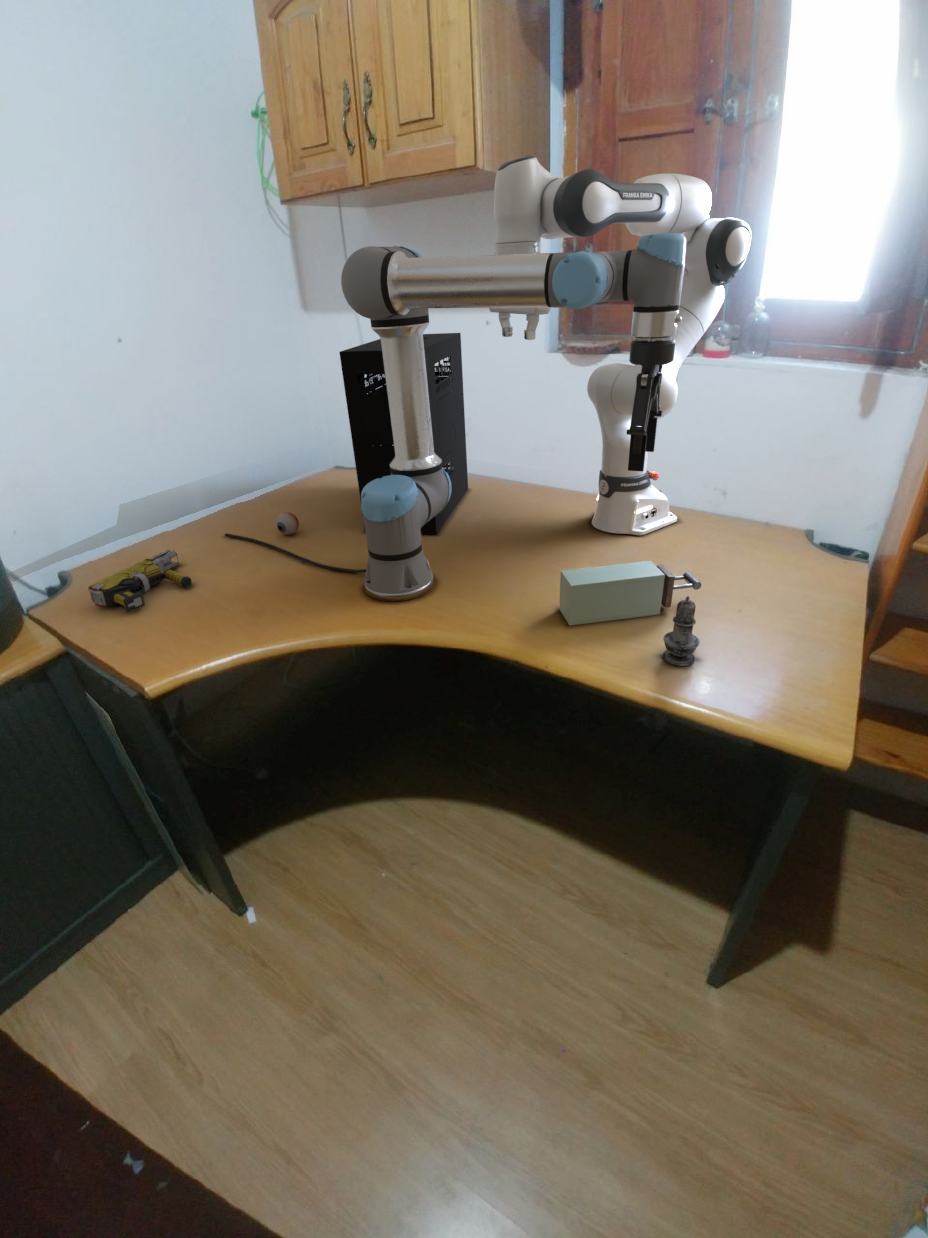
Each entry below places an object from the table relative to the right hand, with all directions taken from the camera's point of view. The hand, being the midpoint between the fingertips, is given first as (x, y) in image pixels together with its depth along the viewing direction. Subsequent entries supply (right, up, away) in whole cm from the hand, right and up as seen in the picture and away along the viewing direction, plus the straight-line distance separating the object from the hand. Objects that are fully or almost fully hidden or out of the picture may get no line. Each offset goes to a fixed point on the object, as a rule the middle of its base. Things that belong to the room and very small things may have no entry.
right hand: (518, 337), depth 125 cm
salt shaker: (+26, -65, -20) cm, 73 cm away
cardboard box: (-24, -26, +53) cm, 63 cm away
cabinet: (+18, -57, -5) cm, 60 cm away
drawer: (+23, -55, -5) cm, 60 cm away
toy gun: (-82, -51, +15) cm, 98 cm away
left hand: (+23, -28, -10) cm, 37 cm away
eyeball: (-59, -35, +40) cm, 80 cm away
